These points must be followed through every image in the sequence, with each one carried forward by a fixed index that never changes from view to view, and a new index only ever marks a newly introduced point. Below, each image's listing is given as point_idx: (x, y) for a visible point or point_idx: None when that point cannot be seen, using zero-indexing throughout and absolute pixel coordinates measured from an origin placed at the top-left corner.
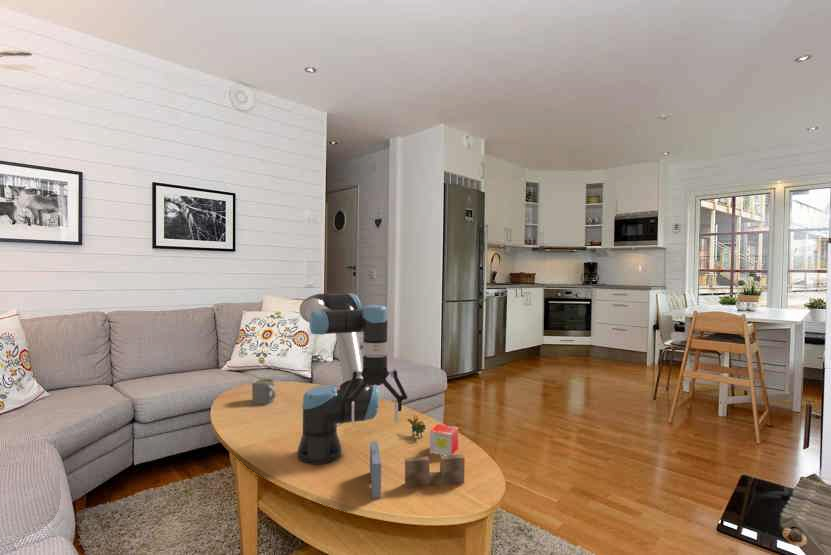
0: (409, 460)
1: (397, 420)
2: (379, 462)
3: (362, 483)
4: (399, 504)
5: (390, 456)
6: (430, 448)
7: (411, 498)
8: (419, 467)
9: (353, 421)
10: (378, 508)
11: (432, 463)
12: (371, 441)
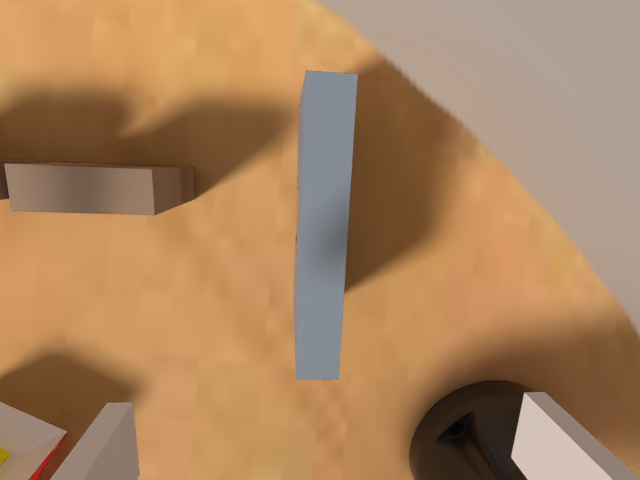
0: (130, 176)
1: (99, 421)
2: (314, 87)
3: (356, 227)
4: (231, 40)
5: (232, 416)
6: (51, 446)
7: (178, 78)
8: (91, 165)
9: (554, 414)
10: (316, 28)
11: (62, 346)
12: (331, 378)
